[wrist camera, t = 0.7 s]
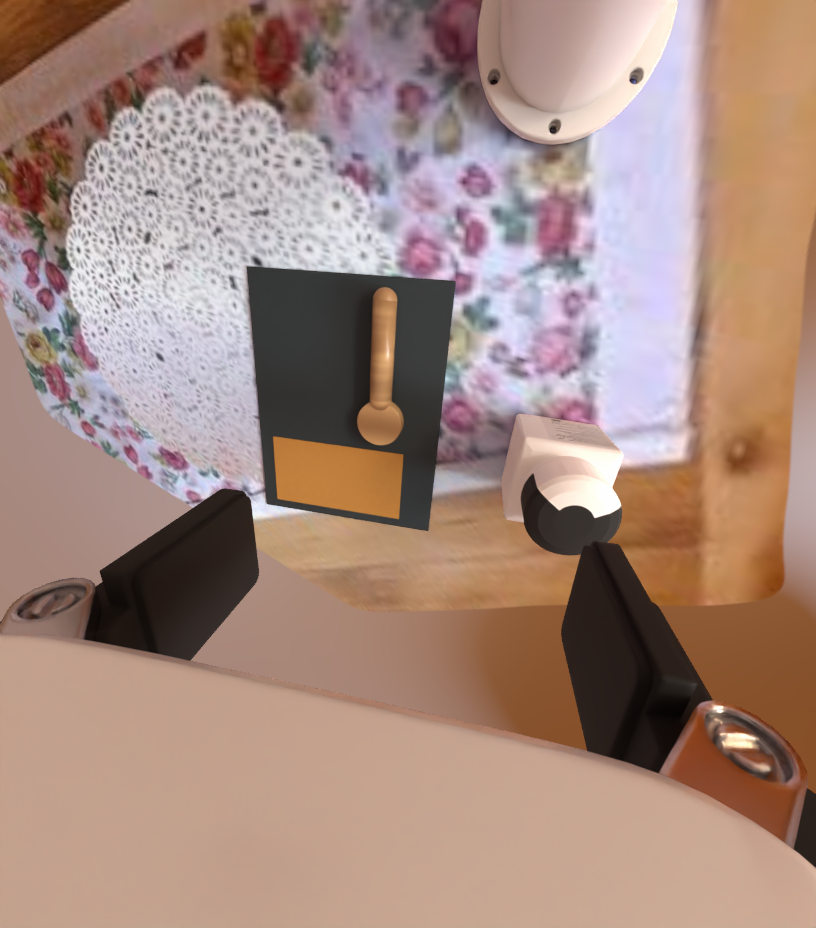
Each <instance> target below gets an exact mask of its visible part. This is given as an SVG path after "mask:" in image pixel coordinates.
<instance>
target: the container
mask: <svg viewBox="0 0 816 928" xmlns="http://www.w3.org/2000/svg"><path fill="white" fill-rule="evenodd" d="M622 459H623V453H622V452H621V451H620V449H619V448H618V447H617V446H616V445H615V444H614V443H613V442H612V441H611V439H610V438H609V437H608V436H607V435H606V434H605V433H604V432H603V431H602V429H601V428H600V427H599V426H597V425H592V424H586V423H579V422H573V421H566V420H560V419H553V418H547V417H540V416H534V415H527V414H518V415H517V416H516V419H515V423H514V428H513V432H512V436H511V441H510V445H509V450H508V454H507V458H506V463H505V467H504V471H503V476H502V480H501V484H502V497H503V511H504V517H505V518H506V519H507V520H512V521H518V522H523V523H524V525H525V528H526V530H527V532H528V534H529V536H530V537H531V538H532V540H533V541H534V542H535V543H536V544H538V545H539V546H540V547H542V548H544V549H545V550H548V551H550V552H553V553H556V554H561V555H580V554H581V553H582V549H583V547H584V546H585V545H587V546H591V544H592V542H593V541H598V542H606V543H607V542H608V541H609V540H610V539H611V538H612V537H613V536H614V535H615V533H616V532H617V530H618V528H619V526H620V523H621V518H622V508H621V504H620V501H619V499H618V497H617V495H616V493H615V492H614V490H613V489H612V486H613V484H614V481H615V478H616V475H617V473H618V470H619V467H620V464H621V462H622Z"/></svg>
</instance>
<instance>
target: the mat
mask: <svg viewBox="0 0 816 928" xmlns="http://www.w3.org/2000/svg"><path fill="white" fill-rule="evenodd" d="M247 273H248V285H249V297H250V309H251V320H252V332H253V344H254V356H255V368H256V380H257V391H258V403H259V415H260V427H261V439H262V450H263V462H264V474H265V486H266V498H267V504H271V505H277V506H282V507H288V508H294V509H300V510H306V511H312V512H318V513H324V514H330V515H336V516H342V517H348V518H354V519H360V520H365V521H371V522H377V523H383V524H389V525H395V526H401V527H407V528H413V529H419V530H425V531H428V528H429V519H430V510H431V501H432V491H433V482H434V473H435V464H436V455H437V446H438V437H439V428H440V419H441V409H442V400H443V391H444V382H445V373H446V364H447V355H448V346H449V337H450V327H451V318H452V309H453V300H454V291H455V281H445V280H430V279H416V278H402V277H388V276H374V275H360V274H346V273H332V272H318V271H304V270H290V269H276V268H262V267H247ZM382 287H388V288H390V289H392V290H393V291H394V292H395V294H396V296H397V315H396V333H395V351H394V369H393V387H392V402H393V403H395V404H396V405H397V406H398V407H399V409H400V410H401V412H402V414H403V418H404V425H403V429H402V431H401V433H400V434H399V436H398V437H397V438H396V439H395V440H394V441H393V442H392V443H390V444H387V445H375V444H372V443H370V442H369V441H367V440H366V439H365V438H364V437H363V436H362V435H361V433H360V431H359V429H358V425H357V418H358V414H359V412H360V410H361V409H362V408H363V407H364V406H365V405H366V404H367V403H369V402H370V369H371V338H372V307H373V296H374V293H375V292H376V291H377V290H378V289H379V288H382Z"/></svg>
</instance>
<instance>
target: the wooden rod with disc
mask: <svg viewBox="0 0 816 928" xmlns="http://www.w3.org/2000/svg"><path fill="white" fill-rule="evenodd" d="M396 315H397V296H396V294H395V292H394V291H393V290H392V289H390V288H388V287H382V288H379V289H378V290H377V291H376V292H375V293H374V296H373V307H372V338H371V369H370V402H369V403H367V404H366V405H365V406H364V407H363V408H362V409H361V410H360V412H359V414H358V418H357V425H358V429H359V431H360V433H361V435H362V436H363V437H364V438H365V439H366V440H367V441H369V442H370V443H372V444H375V445H387V444H390V443H392V442H393V441H394V440H395V439H396V438H397V437H398V436H399V434H400V433H401V431H402V429H403V425H404V418H403V414H402V412H401V410H400V409H399V407H398V406H397V405H396V404H395V403H393V402H392V387H393V369H394V351H395V333H396Z"/></svg>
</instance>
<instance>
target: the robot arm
mask: <svg viewBox="0 0 816 928" xmlns="http://www.w3.org/2000/svg"><path fill="white" fill-rule="evenodd" d="M677 3H678V0H483V1H482V6H481V11H480V17H479V23H478V39H477V54H478V67H479V72H480V77H481V83H482V87H483V89H484V92H485V95H486V97H487V100H488V103H489V104H490V106H491V108H492V109H493V111H494V112H495V114H496V116H497V117H498V119H499V120H500V121H501V122H502V123H503V124H504V125H505V126H506V127H507V128H508V129H509V130H510V131H512V132H514V133H515V134H517V135H518V136H520V137H521V138H523V139H526V140H529V141H532V142H535V143H539V144H552V145H556V144H562V143H569V142H573V141H576V140H579V139H581V138H584V137H587V136H589V135H591V134H592V133H594V132H596V131H598V130H599V129H601V128H603V127H604V126H606V125H607V124H608V123H609V122H611V121H612V120H613V119H614V118H615V117H617V116H618V115H619V114H620V113H621V112H622V111H623V110H624V109H625V108H626V107H627V106H628V105H629V104H630V102H631V101H632V100H633V99H634V98H635V97H636V96H637V94H638V93H639V92H640V90H641V89H642V88H643V86H644V85H645V83H646V82H647V80H648V79H649V77H650V75H651V74H652V72H653V70H654V68H655V67H656V65H657V63H658V61H659V60H660V58H661V56H662V53H663V51H664V48H665V46H666V43H667V41H668V38H669V36H670V33H671V30H672V26H673V22H674V18H675V14H676V10H677ZM632 78H633V79H635V81H636V84H631V82H630V81H629V80H630V79H632ZM494 79H495V80H497V84H495V85H491V84H490V83H491V81H492V80H494ZM552 127H554V128H555V129H556V133H555V134H551V133H550V129H551V128H552ZM100 574H101V577H102V580H103V582H102V583H100V584H99V585H97V586H96V587H95V584H94V583H93V582H92V581H91V580H88V579H85V578H68V579H62V580H58V581H54V582H51V583H47V584H45V585H42V586H40V587H38V588H35V589H33V590H31V591H30V592H28V593H26V594H24V595H23V596H21V597H20V598H19V599H17V600H16V601H15V602H14V603H13V604H12V605H11V606H10V607H9V609H8V610H7V612H6V614H5V616H4V617H3V619H2V621H1V622H0V928H816V794H815V793H813V792H812V791H811V790H809V789H808V788H807V785H808V779H807V770H806V768H805V766H804V764H803V762H802V760H801V758H800V756H799V755H798V754H797V752H796V751H795V750H794V748H793V747H792V746H791V745H790V743H789V742H788V741H787V740H785V738H784V737H783V736H781V734H779V733H778V732H777V731H776V730H775V729H774V728H773V727H772V726H770V725H769V724H767V723H766V722H764V721H763V720H761V719H760V718H759V717H758V716H756V715H754V714H752V713H750V712H748V711H746V710H744V709H743V708H741V707H738V706H735V705H732V704H729V703H726V702H721V701H713V700H712V698H711V696H710V694H709V693H708V691H707V689H706V688H705V686H704V684H703V682H702V680H701V679H700V677H699V675H698V674H697V672H696V670H695V669H694V667H693V665H692V663H691V662H690V660H689V658H688V656H687V655H686V653H685V651H684V650H683V648H682V646H681V644H680V643H679V641H678V639H677V638H676V636H675V634H674V632H673V631H672V629H671V627H670V625H669V624H668V622H667V620H666V619H665V617H664V615H663V613H662V612H661V610H660V609H659V607H658V606H657V605H656V604H655V603H653V602H651V600H650V598H649V597H648V595H647V593H646V591H645V589H644V588H643V586H642V584H641V582H640V581H639V579H638V577H637V575H636V574H635V572H634V570H633V568H632V567H631V565H630V563H629V561H628V559H627V558H626V556H625V554H624V552H623V551H622V549H621V547H620V546H619V545H618V544H613V543H606V542H598V541H593V542H592V544H591V546H587V545H585V546H584V547H583V549H582V553H581V556H580V560H579V564H578V568H577V571H576V575H575V579H574V583H573V586H572V590H571V594H570V597H569V601H568V605H567V609H566V612H565V616H564V620H563V624H562V630H561V632H562V633H561V635H562V642H563V646H564V651H565V655H566V660H567V664H568V668H569V673H570V677H571V681H572V686H573V690H574V695H575V699H576V703H577V707H578V712H579V716H580V721H581V724H582V730H583V734H584V738H585V742H586V747H587V751H585V750H581V749H577V748H573V747H569V746H565V745H561V744H557V743H552V742H549V741H545V740H541V739H536V738H532V737H528V736H524V735H520V734H516V733H512V732H508V731H504V730H499V729H495V728H491V727H486V726H482V725H478V724H473V723H469V722H464V721H460V720H455V719H451V718H447V717H442V716H438V715H434V714H429V713H424V712H420V711H416V710H412V709H407V708H403V707H398V706H394V705H390V704H385V703H381V702H376V701H372V700H367V699H363V698H358V697H353V696H349V695H344V694H340V693H335V692H331V691H327V690H322V689H318V688H313V687H308V686H304V685H299V684H295V683H290V682H285V681H281V680H277V679H272V678H268V677H263V676H258V675H254V674H249V673H245V672H240V671H235V670H230V669H226V668H221V667H217V666H212V665H207V664H203V663H198V662H193V661H190V660H191V659H192V658H193V657H194V655H195V654H196V653H197V652H198V651H199V650H200V648H201V647H202V646H203V645H204V644H205V642H206V641H207V640H208V639H209V638H210V637H211V635H212V634H213V633H214V632H215V631H216V630H217V628H218V627H219V626H220V625H221V624H222V622H223V621H224V620H225V619H226V618H227V617H228V615H229V614H230V613H231V612H232V611H233V610H234V608H235V607H236V606H237V604H239V602H240V601H241V600H242V599H243V598H244V596H245V595H246V594H247V593H248V592H249V591H250V589H251V588H252V587H253V586H254V585H255V583H256V581H257V579H258V576H259V568H258V560H257V550H256V542H255V533H254V524H253V516H252V507H251V500H250V498H249V497H247V496H246V494H245V493H244V492H243V491H239V490H232V489H221V490H219V491H218V492H216V493H215V494H213V495H212V496H210V497H209V498H207V499H206V500H204V501H203V502H201V503H200V504H198V505H197V506H195V507H194V508H192V509H191V510H190V511H188V512H187V513H185V514H184V515H182V516H181V517H179V518H178V519H176V520H175V521H173V522H172V523H170V524H169V525H167V526H166V527H164V528H163V529H161V530H160V531H159V532H157V533H155V534H154V535H152V536H151V537H149V538H148V539H147V540H145V541H143V542H142V543H140V544H139V545H137V546H136V547H135V548H133V549H132V550H130V551H129V552H127V553H126V554H124V555H123V556H121V557H120V558H118V559H117V560H115V561H114V562H112V563H111V564H109V565H108V566H106V567H105V568H103V569H102V570H100Z"/></svg>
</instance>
